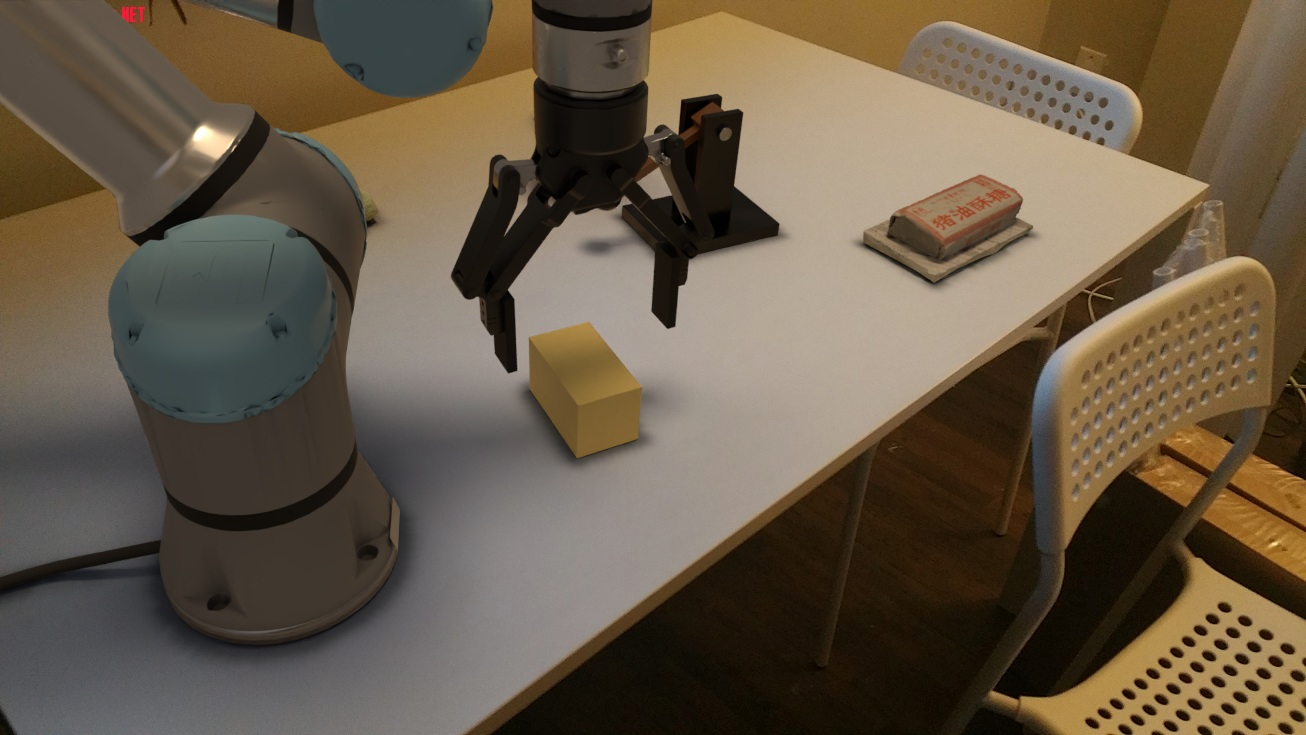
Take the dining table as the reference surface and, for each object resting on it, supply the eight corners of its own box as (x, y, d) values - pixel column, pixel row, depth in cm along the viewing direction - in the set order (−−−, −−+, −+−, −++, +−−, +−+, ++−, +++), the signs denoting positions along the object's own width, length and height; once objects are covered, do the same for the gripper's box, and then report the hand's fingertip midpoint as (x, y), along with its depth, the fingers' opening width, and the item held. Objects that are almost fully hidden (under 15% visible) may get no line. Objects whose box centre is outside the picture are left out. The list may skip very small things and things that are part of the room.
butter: (576, 458, 77) (577, 405, 74) (529, 388, 84) (528, 336, 80) (638, 439, 80) (642, 386, 76) (587, 372, 86) (589, 321, 83)
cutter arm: (606, 222, 99) (594, 199, 97) (592, 207, 101) (580, 185, 99) (734, 133, 100) (725, 108, 98) (717, 120, 102) (708, 96, 100)
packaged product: (968, 161, 113) (1044, 196, 107) (957, 199, 116) (1031, 235, 110) (868, 204, 103) (945, 245, 98) (859, 243, 106) (933, 286, 101)
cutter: (665, 261, 101) (676, 136, 93) (621, 216, 108) (627, 96, 99) (778, 234, 107) (797, 115, 98) (729, 193, 114) (743, 78, 105)
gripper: (423, 131, 56) (450, 412, 69) (782, 71, 66) (746, 326, 80) (384, 83, 61) (417, 353, 75) (723, 34, 72) (699, 280, 85)
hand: (587, 340), depth 77 cm, fingers open, 13 cm apart
